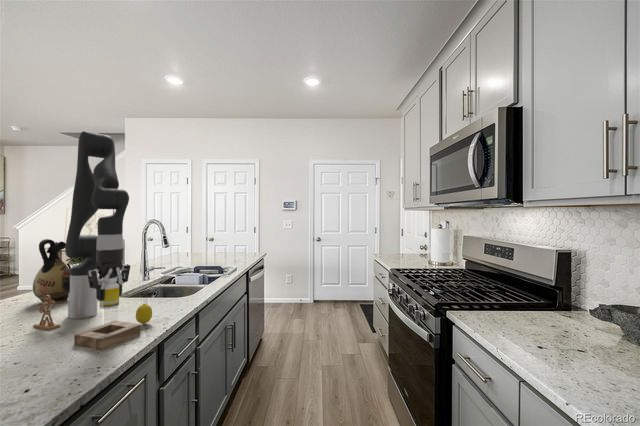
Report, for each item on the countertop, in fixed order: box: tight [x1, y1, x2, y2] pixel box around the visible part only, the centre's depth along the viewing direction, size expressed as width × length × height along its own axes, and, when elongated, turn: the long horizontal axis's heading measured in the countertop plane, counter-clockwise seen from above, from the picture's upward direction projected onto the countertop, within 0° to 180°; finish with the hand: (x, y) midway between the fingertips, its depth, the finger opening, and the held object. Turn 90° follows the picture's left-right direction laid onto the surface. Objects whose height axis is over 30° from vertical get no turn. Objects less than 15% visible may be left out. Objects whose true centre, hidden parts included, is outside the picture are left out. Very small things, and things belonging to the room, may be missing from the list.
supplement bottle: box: [99, 277, 120, 310], centre depth 106 cm, size 5×5×10 cm
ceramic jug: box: [32, 238, 71, 304], centre depth 149 cm, size 17×15×30 cm
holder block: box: [73, 320, 142, 352], centre depth 106 cm, size 12×14×4 cm
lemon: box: [135, 303, 153, 326], centre depth 120 cm, size 6×6×8 cm
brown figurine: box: [32, 295, 61, 332], centre depth 116 cm, size 9×4×12 cm, turn 71°
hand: (109, 298), depth 106 cm, fingers closed on supplement bottle, 5 cm apart
